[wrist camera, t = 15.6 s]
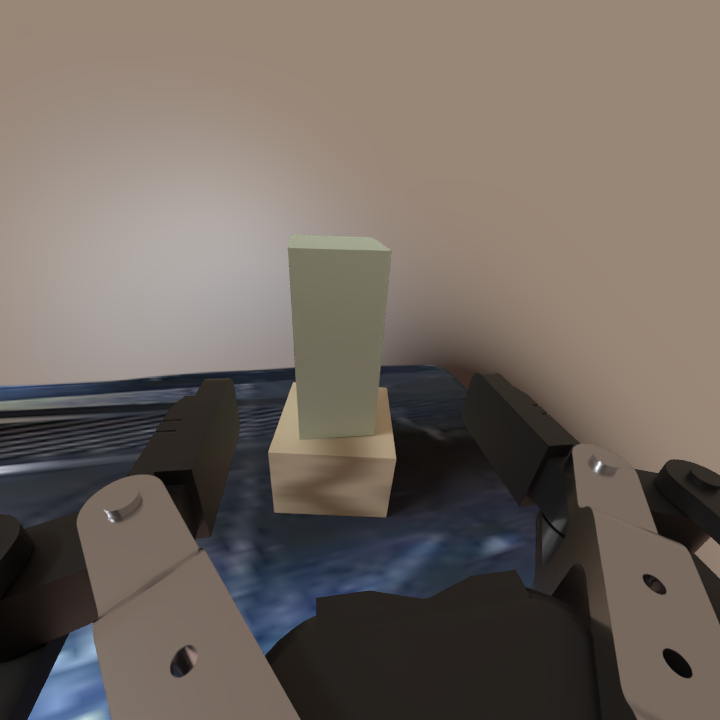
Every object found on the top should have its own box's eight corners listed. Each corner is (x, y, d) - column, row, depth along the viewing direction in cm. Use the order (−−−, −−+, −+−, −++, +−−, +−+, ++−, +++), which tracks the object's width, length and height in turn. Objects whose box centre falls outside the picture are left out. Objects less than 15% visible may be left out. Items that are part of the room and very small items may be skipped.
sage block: (299, 439, 20) (288, 247, 14) (300, 395, 24) (292, 234, 19) (374, 434, 21) (391, 250, 15) (362, 392, 25) (372, 237, 19)
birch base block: (274, 513, 22) (268, 452, 19) (295, 435, 29) (293, 382, 26) (385, 518, 22) (396, 458, 19) (379, 440, 29) (386, 387, 26)
